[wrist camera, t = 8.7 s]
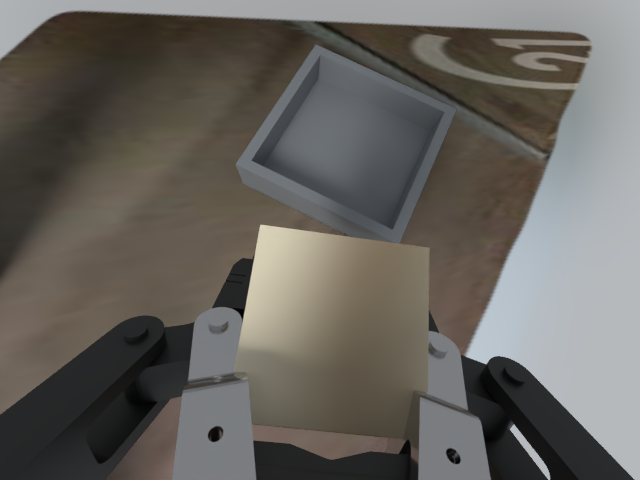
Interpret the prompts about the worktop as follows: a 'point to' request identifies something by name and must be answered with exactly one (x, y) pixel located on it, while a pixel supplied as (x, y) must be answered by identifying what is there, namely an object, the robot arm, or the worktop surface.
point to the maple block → (335, 332)
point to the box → (347, 147)
